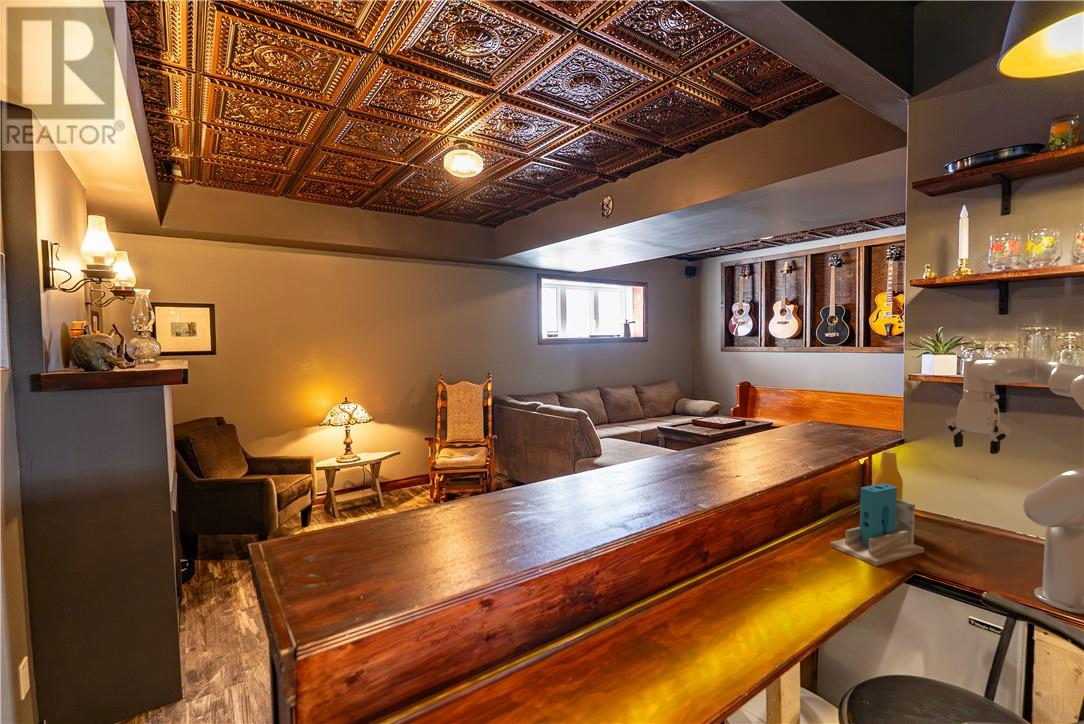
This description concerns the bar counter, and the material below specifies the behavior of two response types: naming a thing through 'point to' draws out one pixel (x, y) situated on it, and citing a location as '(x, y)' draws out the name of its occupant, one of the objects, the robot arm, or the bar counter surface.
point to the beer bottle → (889, 472)
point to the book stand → (884, 540)
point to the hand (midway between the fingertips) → (975, 450)
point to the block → (877, 511)
